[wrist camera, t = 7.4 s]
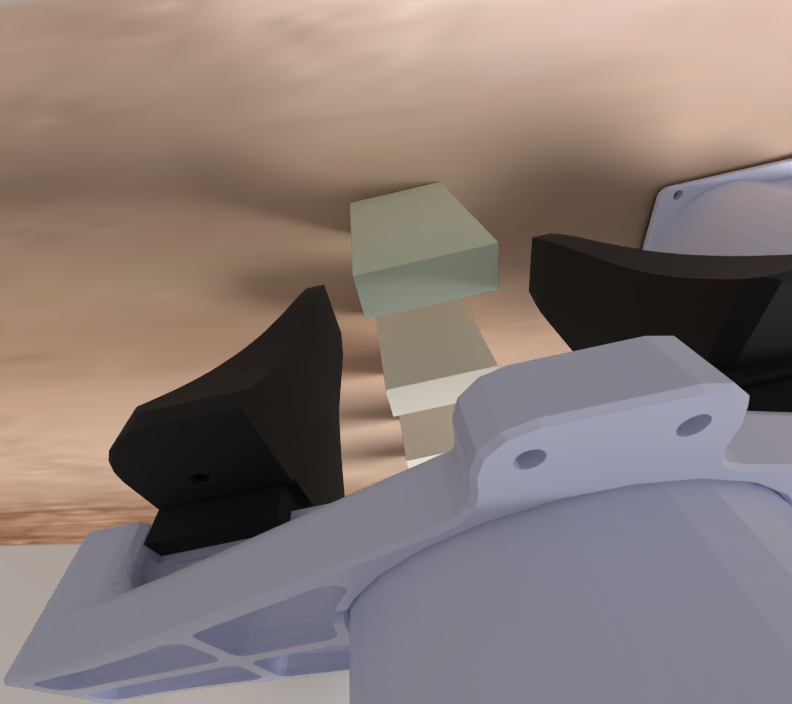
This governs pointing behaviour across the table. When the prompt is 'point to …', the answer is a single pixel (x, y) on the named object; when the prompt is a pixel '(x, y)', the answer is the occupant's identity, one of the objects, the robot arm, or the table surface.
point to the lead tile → (419, 251)
